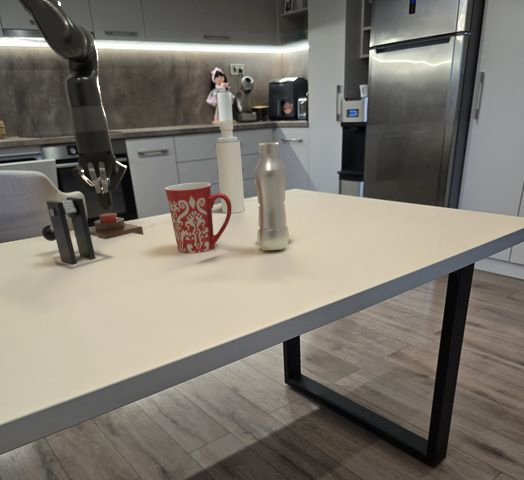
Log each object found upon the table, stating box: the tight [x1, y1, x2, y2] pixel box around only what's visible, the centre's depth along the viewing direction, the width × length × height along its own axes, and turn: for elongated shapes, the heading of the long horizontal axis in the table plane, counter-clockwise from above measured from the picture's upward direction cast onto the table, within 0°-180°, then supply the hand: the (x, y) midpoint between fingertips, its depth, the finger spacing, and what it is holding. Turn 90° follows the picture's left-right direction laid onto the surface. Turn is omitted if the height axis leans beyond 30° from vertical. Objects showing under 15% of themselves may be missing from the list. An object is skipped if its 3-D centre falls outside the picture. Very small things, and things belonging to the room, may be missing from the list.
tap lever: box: [41, 199, 77, 242], centre depth 95 cm, size 14×3×3 cm, turn 48°
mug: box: [164, 181, 232, 254], centre depth 95 cm, size 13×9×14 cm
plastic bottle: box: [253, 142, 290, 251], centre depth 93 cm, size 6×7×20 cm
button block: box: [89, 216, 144, 240], centre depth 117 cm, size 12×10×4 cm
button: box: [99, 212, 118, 222], centre depth 115 cm, size 4×4×2 cm
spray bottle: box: [215, 120, 246, 214], centre depth 133 cm, size 7×7×25 cm
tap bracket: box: [46, 196, 96, 266], centre depth 92 cm, size 10×8×13 cm
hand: (107, 208), depth 115 cm, fingers closed
